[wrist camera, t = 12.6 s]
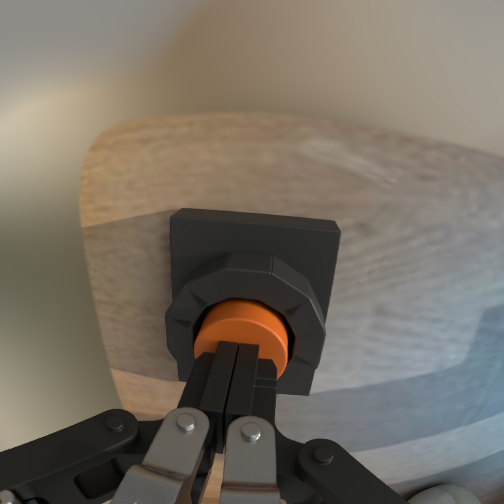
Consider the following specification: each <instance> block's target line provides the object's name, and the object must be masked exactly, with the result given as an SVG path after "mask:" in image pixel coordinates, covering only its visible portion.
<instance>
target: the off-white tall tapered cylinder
mask: <svg viewBox="0 0 504 504" xmlns="http://www.w3.org/2000/svg"><path fill="white" fill-rule="evenodd" d="M407 502H409V503H410V504H481V503H480V501H479V500H478V498H477V497H476V496H475V495H474V494H473V493H472V492H471V491H469V490H468V489H466V488H465V487H463V486H460V485H457V484H442V485H438V486H435V487H431V488H429V489H427V490H424V491H422V492H420V493H418V494H416V495H415V496H413V497H412V498H411V499H409V500H408V501H407Z"/></svg>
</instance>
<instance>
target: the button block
mask: <svg viewBox="0 0 504 504" xmlns="http://www.w3.org/2000/svg"><path fill="white" fill-rule="evenodd" d="M340 236H341V231H340V229H339V227H338V226H337V224H336V222H335V221H331V220H321V219H311V218H301V217H290V216H279V215H268V214H256V213H244V212H232V211H218V210H204V209H190V208H182V209H180V210H179V211H177V212H176V213H175V214H173V215H172V216H171V217H170V245H171V276H172V298H173V302H172V304H171V306H170V307H169V309H168V310H167V312H166V314H165V323H166V334H167V345H168V349H169V351H170V353H171V354H172V355H173V357H174V358H175V360H176V361H177V366H178V376H179V381H183V382H187V380H188V379H189V375H190V372H191V371H192V367H193V365H194V362H195V355H194V344H195V340H196V338H197V336H198V333H199V331H200V328H201V326H202V324H203V321H204V319H205V317H206V315H207V313H208V312H209V311H210V309H211V308H212V307H213V306H215V305H216V304H218V303H219V302H221V301H223V300H226V299H229V298H243V299H253V300H260V301H262V302H264V303H265V304H267V305H268V306H270V307H272V308H273V309H275V310H276V311H278V312H279V313H280V315H281V316H282V317H283V319H284V321H285V323H286V326H287V331H288V357H287V364H286V367H285V370H284V371H283V373H282V374H281V376H280V377H279V378H278V379H277V387H276V395H277V394H288V395H304V396H309V393H310V389H311V385H312V381H313V377H314V372H315V369H316V368H317V367H318V365H319V363H320V358H321V354H322V350H323V345H324V340H325V336H326V329H325V322H326V317H327V312H328V307H329V301H330V296H331V290H332V285H333V279H334V273H335V268H336V261H337V255H338V249H339V242H340Z"/></svg>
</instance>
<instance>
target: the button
mask: <svg viewBox="0 0 504 504" xmlns="http://www.w3.org/2000/svg"><path fill="white" fill-rule="evenodd" d="M220 340H221V341H229V342H238V343H239V346H240V343H248V344H257V345H260V346H259V357H258V358H263V359H272V360H273V362H274V363H275V365H276V367H277V379H278V378H279V377H280V376H281V374H282V373H283V371H284V370H285V367H286V364H287V357H288V331H287V326H286V323H285V321H284V319H283V317H282V316H281V315H280V313H279V312H278V311H276V310H275V309H273V308H272V307H270V306H268V305H267V304H265V303H264V302H262V301H260V300H253V299H243V298H229V299H226V300H223V301H221V302H219V303H218V304H216V305H215V306H213V307H212V308H211V309H210V311H209V312H208V313H207V315H206V317H205V319H204V321H203V324H202V326H201V328H200V331H199V333H198V336H197V338H196V340H195V344H194V355H195V359H196V358H198V357H199V356H200V355H201V354H202V353H203V352H211V353H216V350H217V346H218V343H219V341H220Z"/></svg>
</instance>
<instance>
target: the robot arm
mask: <svg viewBox="0 0 504 504" xmlns="http://www.w3.org/2000/svg"><path fill="white" fill-rule="evenodd" d="M259 346H260V345H257V344H248V343H240V346H239V343H238V342H229V341H221V340H220V341H219V343H218V346H217V350H216V353H211V352H203V353H202V354H201V355H200V356H199V357H198V358H196V359H195V362H194V365H193V367H192V371H191V372H190V375H189V379H188V380H187V383H186V386H185V388H184V391H183V393H182V396H181V399H180V401H179V404H178V406H177V409H174V410H172V411H171V412H169V413H168V414H167V415H166V417H165V418H164V419H161V420H155V421H137V419H136V418H135V416H134V415H133V414H131V413H130V412H128V411H126V410H122V409H112V410H108V411H105V412H103V413H101V414H98V415H96V416H94V417H91V418H89V419H86V420H84V421H82V422H79V423H77V424H75V425H72V426H70V427H67V428H65V429H62V430H60V431H57V432H55V433H52V434H49V435H47V436H44V437H41V438H39V439H36V440H33V441H31V442H28V443H25V444H23V445H20V446H17V447H14V448H12V449H8V450H5V451H2V452H0V504H102V503H104V502H106V501H108V500H111V499H112V500H111V502H110V504H201V501H202V498H203V495H204V492H205V489H206V486H207V483H208V480H209V477H210V474H211V471H212V465H213V461H214V457H215V453H220V454H223V450H224V445H225V461H224V472H223V481H222V485H221V491H220V501H219V504H281V502H280V498H281V499H284V500H285V501H286V503H287V504H410V503H409V502H407V501H406V500H405V499H404V498H402V497H401V496H400V495H398V494H397V493H396V492H395V491H393V490H392V489H391V488H390V487H388V486H387V485H386V484H385V483H383V482H382V481H381V480H380V479H379V478H377V477H376V476H375V475H374V474H372V473H371V472H370V471H369V470H368V469H367V468H365V467H364V466H363V465H362V464H361V463H359V462H358V461H357V460H356V459H355V458H354V457H352V456H351V455H350V454H349V453H348V452H347V451H346V450H344V449H343V448H342V447H341V446H340V445H339V444H337V443H336V442H334V441H331V440H328V439H313V440H310V441H308V442H306V443H305V444H303V443H300V442H296V441H293V440H291V439H288V438H287V437H285V436H283V435H282V434H281V433H280V432H279V431H278V429H277V428H276V425H275V404H276V387H277V367H276V365H275V363H274V362H273V360H272V359H263V358H258V357H259Z"/></svg>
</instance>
